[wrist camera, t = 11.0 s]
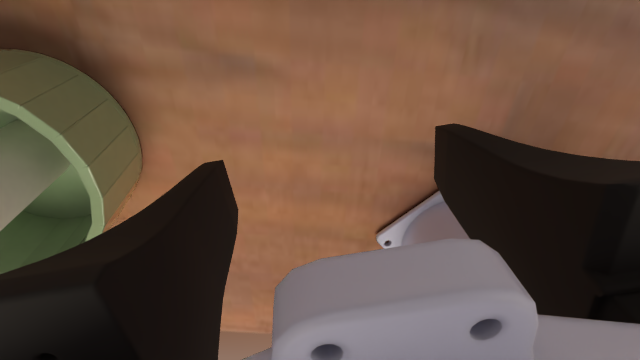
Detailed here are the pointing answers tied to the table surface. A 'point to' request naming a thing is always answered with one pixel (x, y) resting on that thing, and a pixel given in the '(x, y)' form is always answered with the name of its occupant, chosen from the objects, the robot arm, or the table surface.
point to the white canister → (25, 168)
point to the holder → (76, 145)
